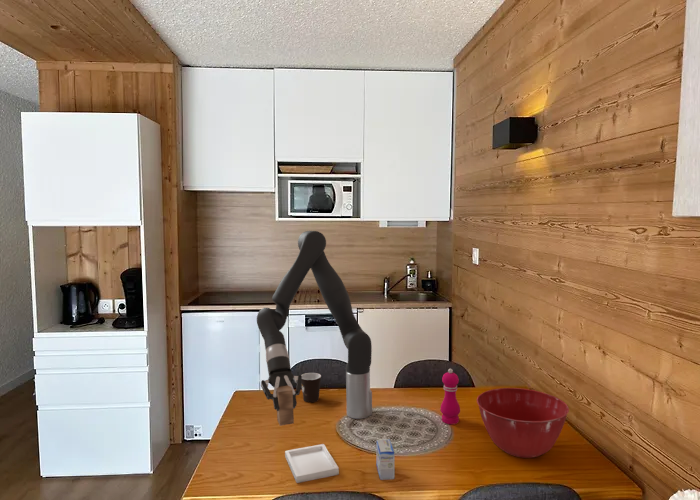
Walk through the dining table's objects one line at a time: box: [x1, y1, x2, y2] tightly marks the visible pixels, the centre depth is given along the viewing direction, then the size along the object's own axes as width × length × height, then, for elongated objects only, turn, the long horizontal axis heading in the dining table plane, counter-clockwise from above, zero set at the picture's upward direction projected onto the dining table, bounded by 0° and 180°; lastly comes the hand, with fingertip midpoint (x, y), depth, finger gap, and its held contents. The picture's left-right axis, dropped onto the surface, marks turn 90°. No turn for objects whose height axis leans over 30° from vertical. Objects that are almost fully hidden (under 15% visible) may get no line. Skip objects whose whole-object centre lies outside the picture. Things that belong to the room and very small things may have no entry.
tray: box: [284, 443, 340, 484], centre depth 150 cm, size 13×16×2 cm
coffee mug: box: [300, 372, 322, 403], centre depth 203 cm, size 12×9×10 cm
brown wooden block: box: [276, 386, 295, 427], centre depth 154 cm, size 4×4×11 cm
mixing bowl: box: [476, 387, 570, 459], centre depth 158 cm, size 28×28×16 cm
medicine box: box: [375, 438, 396, 481], centre depth 145 cm, size 8×4×9 cm, turn 5°
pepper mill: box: [440, 368, 461, 425], centre depth 179 cm, size 7×7×20 cm
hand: (286, 408), depth 152 cm, fingers closed on brown wooden block, 4 cm apart
